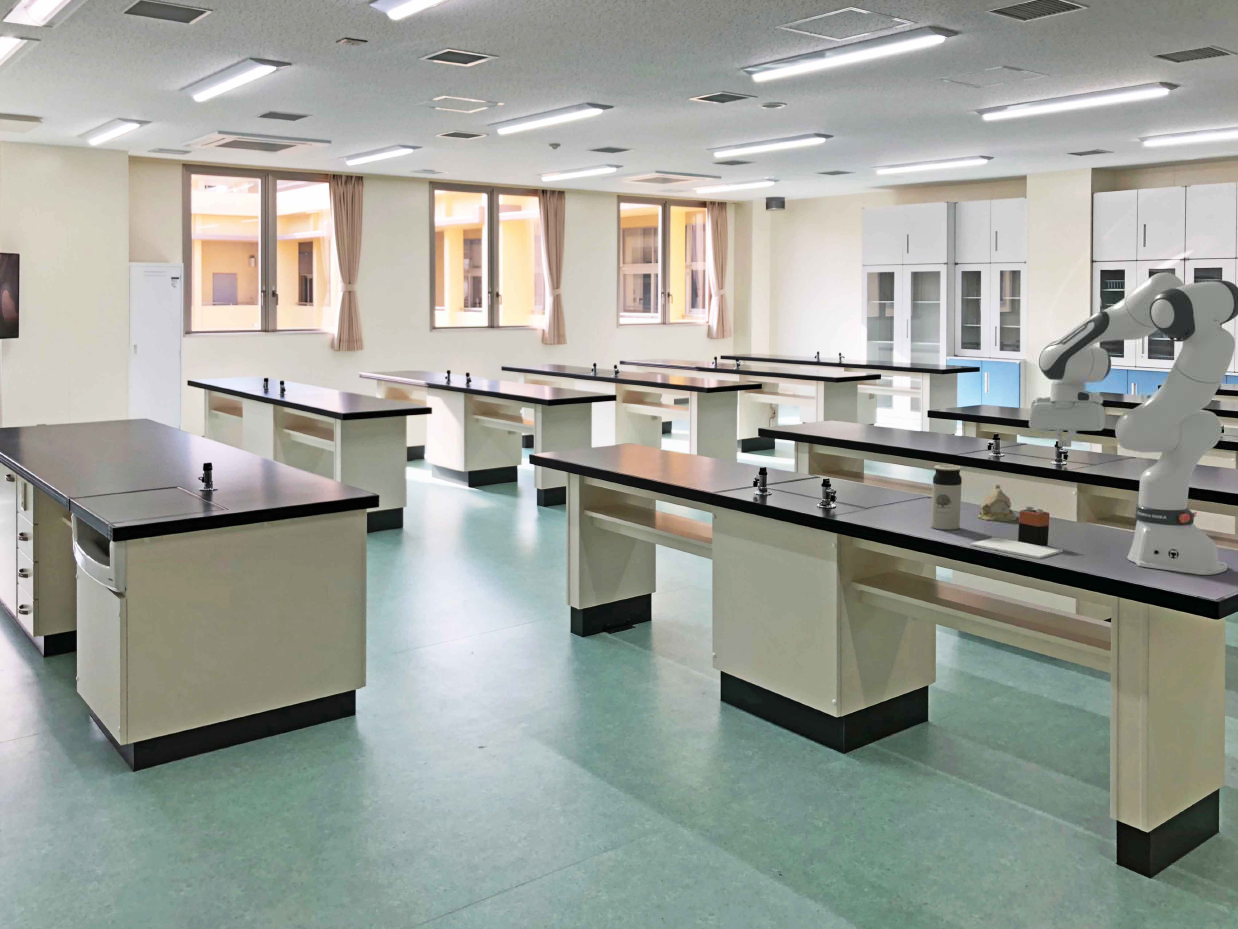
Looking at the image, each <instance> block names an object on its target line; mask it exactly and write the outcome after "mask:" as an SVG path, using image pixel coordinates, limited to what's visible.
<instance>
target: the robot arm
mask: <svg viewBox="0 0 1238 929" xmlns="http://www.w3.org/2000/svg"><path fill="white" fill-rule="evenodd" d="M1237 316H1238V286H1237V285H1236V284H1235V283H1233V282H1232V281H1228V280H1222V279H1211V280H1204V281H1198V282H1194V283H1193V282H1192V283H1188V284H1185V283H1184V282H1183V281H1182V279H1180V278H1179V277H1178V276H1177V275H1175V274H1172V273H1170V272H1158V273H1156V274H1154V275H1152V276H1150V277H1148V278H1147V279H1146V280H1144V281H1142V282H1141V283H1140V284H1139V285H1138V286H1136V287H1135V288H1134V289H1133V290H1132V291H1130V292H1129V294H1127V295H1126V296H1125V297H1124V298H1122V299H1121V300H1119V301H1118V302H1116V303H1115V304H1113V305H1112V306H1109V307H1108V308H1105V309H1104V310H1100V311H1099V312H1097V313H1095V314H1092V316H1089V317H1087V319H1085V320H1084V321H1082V322H1081V323H1080V324H1079V325H1077V326H1076V327H1074V328H1073V329H1072V330H1071V331H1069V332H1068V333H1066V334H1065V335H1064V336H1063V337H1062V338H1060V339H1057V340H1055V341H1052V342H1050V343H1049V344H1048V345H1047V346H1045V347H1044V349H1043V350H1042V351H1041V353H1040V355H1039V359H1038V365H1039V368H1040V371H1041V372H1042V374H1043V375H1044V376H1045V377H1046V378H1047V379H1048V380H1050V381H1052V382H1051V385H1050V386H1051V387H1050V397H1049V396H1048V397H1046V396H1045V397H1036V398H1035V399H1034V400H1032V402H1031V404H1030V414H1029V420H1028V427H1029V428H1030V430H1033V431H1054V436H1055V437H1056V439H1057V440H1058V442H1057V447H1060V448H1064V447H1065V448H1071V447H1072V441H1073V439H1075V438H1076V435H1077V432H1079V431H1086V432H1087V431H1091V432H1092V431H1093V432H1095V431H1102V430H1104V428H1105V425H1106V413H1105V408H1104V406H1103V405H1102V404H1103V403H1104V397H1103V396H1101V395H1098V394H1095V393H1092V392H1091V391H1087V390H1086V388H1087V387H1086V383H1099V382H1102V381H1103V380H1105V379H1106V378H1107V377H1108V376H1109V374H1110V372H1111V369H1112V358H1111V356H1110V354H1109V352H1108V351H1107V350H1106V349H1105V348H1102V347H1098V346H1094V344H1095V345H1096V344H1097V343H1101V342H1107V341H1108V342H1109V341H1132V340H1133V341H1135V340H1141V339H1144V338H1146V337H1148V336H1150V335H1152V334H1154V333H1156V331H1157V330H1158V331H1159V332H1160V333H1161V334H1164V335H1166V336H1167V337H1168V338H1169V340H1170V341H1173V342H1178V343H1180V342H1182V347H1181V350H1180V351H1179V354H1178V356H1177V357H1176V359H1175V362H1174V364H1173V366H1172V367H1171V369H1170V371H1169V373H1168V374H1167V377H1166V379H1165V380H1164V382H1163V384H1162V385H1161V386H1160V387H1159V388H1158V389H1157V390H1156V391H1155V392H1154V393H1153V394H1152V395H1151V396H1149V397H1148V398H1147V399H1146V400H1145V401H1144V402H1142V403H1141V404H1139V405H1138V406H1136V407H1134V408H1133V409H1130V410H1128V411H1125V412H1124V413H1122V414H1121V415H1120V416H1119V418H1118V419H1117V422H1116V423H1115V429H1114V431H1115V433H1114V435H1115V437H1116V440H1117V442H1118V443H1119V445H1120V446H1121V447H1122V448H1123V449H1124V450H1127V451H1133V452H1139V453H1161V455H1160V457H1159V458H1158V460H1157V461H1156V463H1154V464H1153V465H1152V466H1149V467H1148V468H1146V469H1144V471H1143V472H1142V473H1141V475H1140V477H1139V486H1138V487H1139V488H1138V490H1139V491H1138V502H1137V504H1136V505H1135V512H1134V513H1135V514H1134V525H1135V529H1134V530H1135V531H1134V534H1133V535H1134V536H1133V538H1132V539H1133V540H1132V543H1131V546H1130V550H1129V552H1128V555H1127V557H1126V558H1127V559H1128V560H1129V561H1131V562H1133V563H1135V564H1136V565H1137V566H1139V567H1144V568H1148V569H1149V568H1150V569H1158V570H1165V571H1170V572H1172V571H1173V572H1177V573H1178V572H1179V573H1184V574H1185V573H1186V574H1193V575H1201V576H1209V575H1217V574H1221V573H1223V572H1225V571H1227V570H1228V564H1227V563H1226V562H1223V561H1219V553H1218V548H1217V544H1216V542H1215V541H1214V540H1213V539H1211V538H1210V537H1209V536H1208V534H1205V533H1204V532H1203V531H1202V530H1201V529H1200V528H1199V527H1197V526H1196V525H1195V524H1194V523H1195V520H1194V519H1195V518H1196V517H1197V513H1198V512H1197V511H1196V512H1192V511H1191V510H1190V509H1189V508H1188V499H1189V489H1190V484H1191V478H1192V476H1193V473H1194V470H1195V468H1196V466H1197V465H1198V463H1199V461H1200V460H1201V459H1202V457H1204V455H1205V454H1206V453H1208V452H1209V450H1211V449H1212V448H1214V447H1215V446H1217V444H1218V442H1219V441H1220V438H1221V437H1222V429H1223V428H1222V424H1221V421H1220V419H1219V417H1218V416H1217V415H1216V413H1215V412H1213V411H1209V410H1205V409H1204V408H1206V407H1207V406H1208V405H1209V404H1210V403H1211V401H1212V400H1213V398H1214V396H1215V395H1216V392H1217V391H1218V389H1219V387H1220V385H1221V384H1222V382H1223V380H1224V378H1225V376H1226V374H1227V372H1228V369H1229V367H1230V365H1231V362H1232V360H1233V357H1234V352H1235V350H1236V349H1235V348H1236V341H1235V337H1234V335H1233V334H1232V333H1231V332H1230V331H1228V330H1227V329H1225V328H1223V327H1222V326H1221V325H1224V324H1226V323H1229V322H1230V321H1232V320H1233V319H1235V318H1236V317H1237ZM1064 431H1067V434H1068V436H1067V437H1066V439H1064V438H1063V436H1062V435H1063V434H1064Z"/></svg>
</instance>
